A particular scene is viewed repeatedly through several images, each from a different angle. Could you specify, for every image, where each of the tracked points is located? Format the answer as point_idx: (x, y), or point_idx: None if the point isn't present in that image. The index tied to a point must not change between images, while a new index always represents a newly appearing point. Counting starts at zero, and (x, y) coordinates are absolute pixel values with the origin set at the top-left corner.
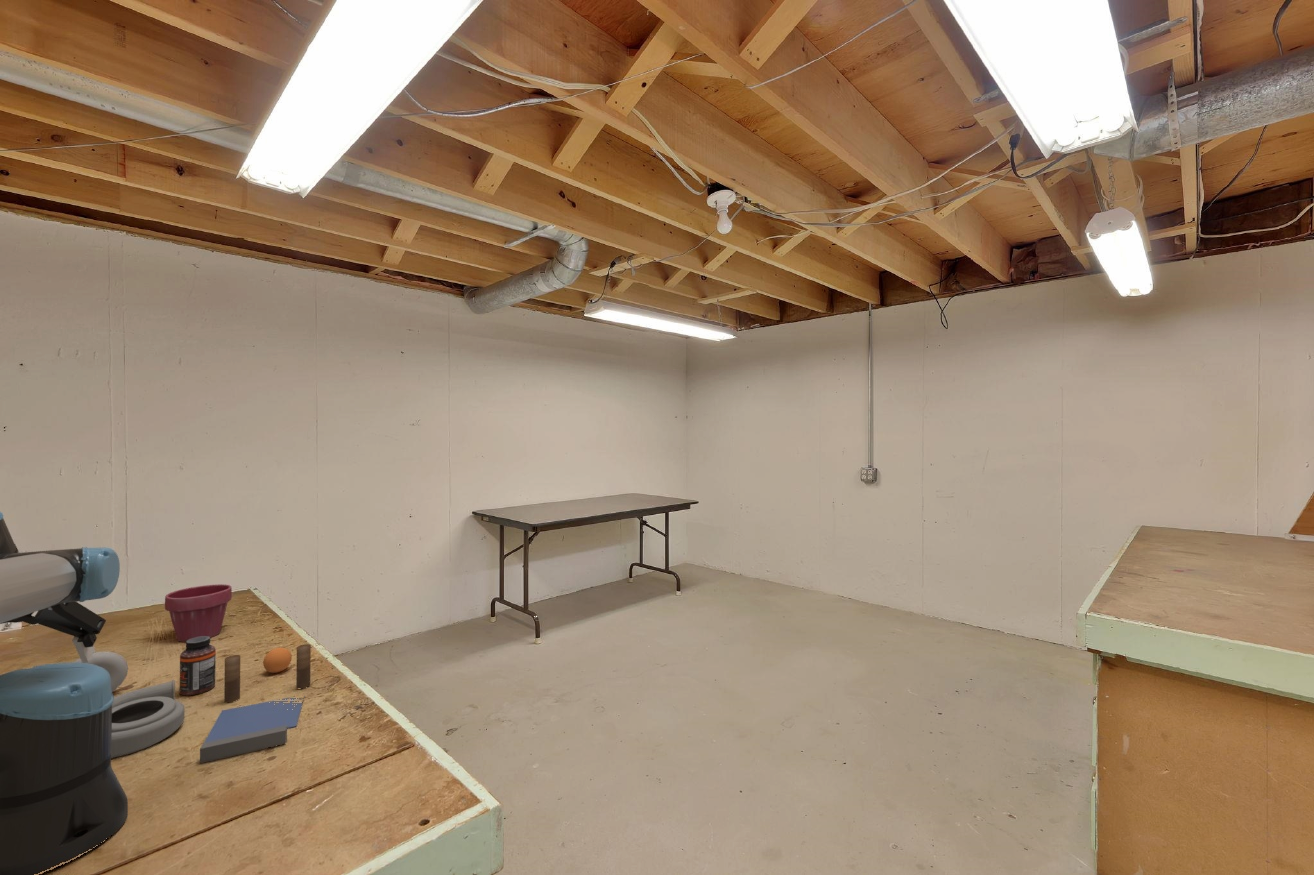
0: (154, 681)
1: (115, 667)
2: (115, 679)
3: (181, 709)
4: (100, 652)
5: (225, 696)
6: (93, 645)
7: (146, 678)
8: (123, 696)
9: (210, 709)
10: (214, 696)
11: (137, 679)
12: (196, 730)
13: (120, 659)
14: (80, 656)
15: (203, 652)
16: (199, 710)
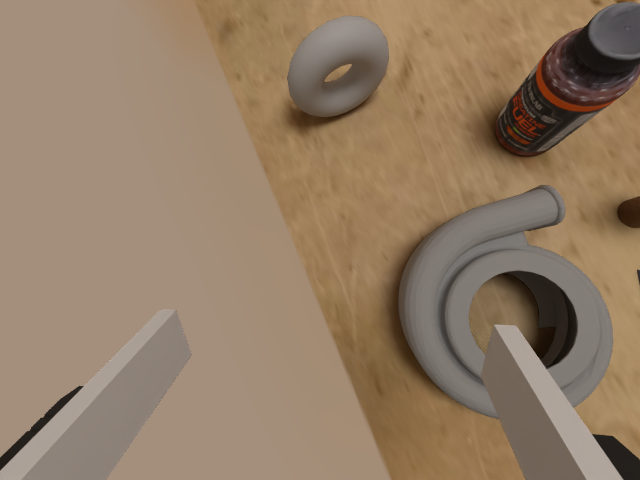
0: (414, 57)
1: (374, 63)
2: (374, 83)
3: (610, 324)
4: (342, 26)
5: (637, 219)
6: (532, 350)
7: (393, 38)
8: (465, 241)
9: (602, 246)
10: (580, 177)
11: None
12: (618, 348)
13: (380, 41)
14: (502, 420)
15: (626, 87)
16: (577, 241)
